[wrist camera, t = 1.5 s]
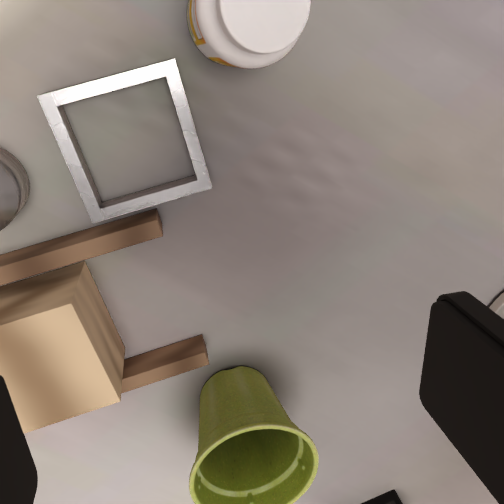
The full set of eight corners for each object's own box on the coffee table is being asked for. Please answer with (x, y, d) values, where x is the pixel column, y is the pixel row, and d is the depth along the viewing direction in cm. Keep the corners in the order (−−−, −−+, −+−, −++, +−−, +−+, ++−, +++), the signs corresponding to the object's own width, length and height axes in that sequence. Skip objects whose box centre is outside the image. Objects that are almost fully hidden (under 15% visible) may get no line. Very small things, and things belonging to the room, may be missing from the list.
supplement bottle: (289, 21, 28) (351, 7, 20) (229, 84, 29) (263, 97, 20) (230, -56, 26) (271, -111, 17) (167, 15, 27) (175, -3, 18)
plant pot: (306, 373, 40) (344, 450, 32) (247, 446, 42) (269, 534, 34) (220, 332, 36) (240, 407, 29) (160, 414, 39) (163, 505, 31)
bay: (156, 208, 31) (157, 240, 26) (205, 345, 37) (215, 396, 31) (-93, 283, 30) (-147, 333, 24) (-4, 414, 35) (-31, 479, 30)
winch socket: (173, 58, 28) (178, 59, 23) (209, 182, 31) (219, 203, 27) (-90, 129, 26) (-140, 145, 22) (-21, 250, 30) (-51, 285, 25)
